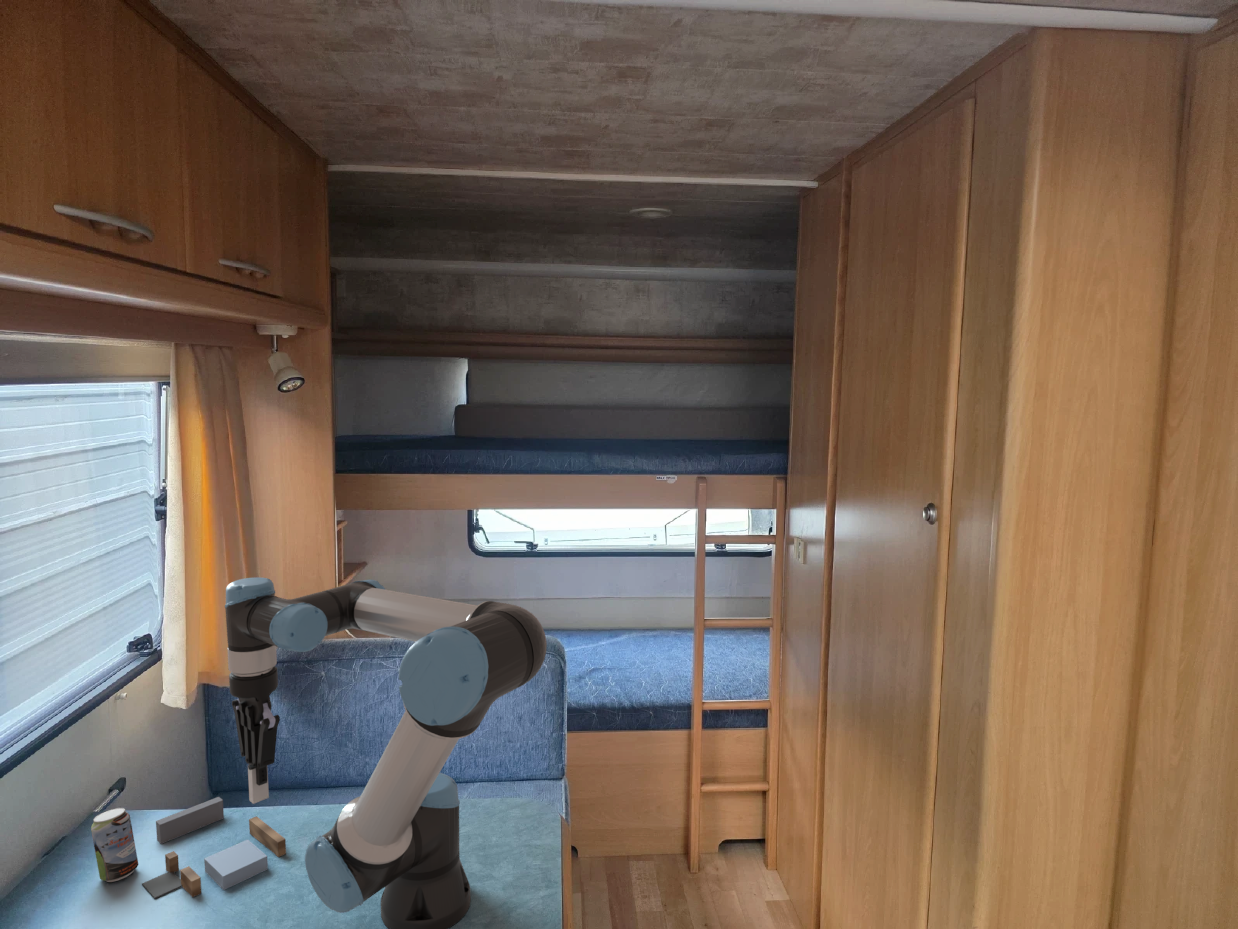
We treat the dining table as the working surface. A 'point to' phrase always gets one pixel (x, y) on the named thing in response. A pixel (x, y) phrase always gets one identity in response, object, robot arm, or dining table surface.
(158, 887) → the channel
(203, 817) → the end block
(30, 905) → the dining table surface
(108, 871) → the beverage can
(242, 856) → the block
